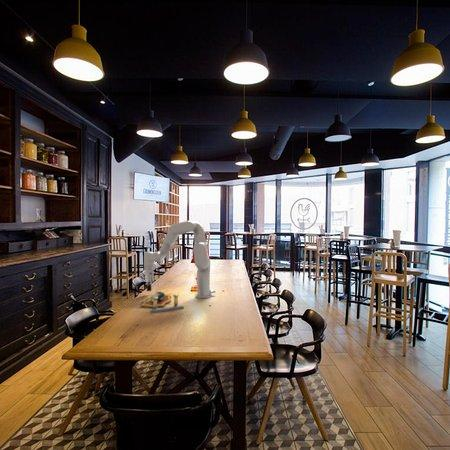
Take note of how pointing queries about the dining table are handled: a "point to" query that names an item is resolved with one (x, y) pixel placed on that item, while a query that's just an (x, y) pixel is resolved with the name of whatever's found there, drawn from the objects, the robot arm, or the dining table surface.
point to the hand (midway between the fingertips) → (149, 290)
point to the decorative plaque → (161, 300)
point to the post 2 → (175, 300)
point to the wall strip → (166, 309)
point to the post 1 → (155, 302)
